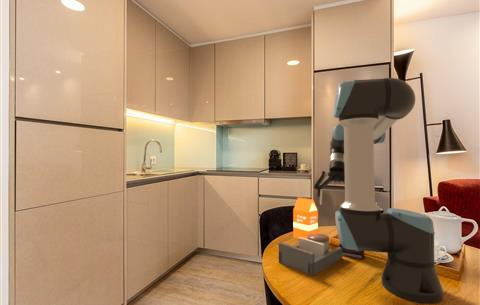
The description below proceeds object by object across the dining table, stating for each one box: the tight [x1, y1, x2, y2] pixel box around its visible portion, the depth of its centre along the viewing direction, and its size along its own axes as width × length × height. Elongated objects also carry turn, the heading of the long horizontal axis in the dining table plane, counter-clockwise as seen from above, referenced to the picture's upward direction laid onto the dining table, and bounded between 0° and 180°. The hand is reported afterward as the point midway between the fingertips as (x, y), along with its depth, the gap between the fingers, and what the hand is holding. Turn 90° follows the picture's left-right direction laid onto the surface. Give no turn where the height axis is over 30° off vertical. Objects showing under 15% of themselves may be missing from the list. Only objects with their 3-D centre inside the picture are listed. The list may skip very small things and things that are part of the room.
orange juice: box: [292, 197, 319, 240], centre depth 118 cm, size 8×9×20 cm
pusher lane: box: [278, 242, 343, 277], centre depth 92 cm, size 14×21×8 cm, turn 131°
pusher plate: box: [297, 237, 325, 259], centre depth 92 cm, size 10×1×7 cm, turn 41°
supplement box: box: [339, 242, 365, 260], centre depth 97 cm, size 9×5×16 cm, turn 58°
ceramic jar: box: [307, 232, 330, 253], centre depth 95 cm, size 8×8×8 cm
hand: (336, 205), depth 108 cm, fingers open, 13 cm apart
